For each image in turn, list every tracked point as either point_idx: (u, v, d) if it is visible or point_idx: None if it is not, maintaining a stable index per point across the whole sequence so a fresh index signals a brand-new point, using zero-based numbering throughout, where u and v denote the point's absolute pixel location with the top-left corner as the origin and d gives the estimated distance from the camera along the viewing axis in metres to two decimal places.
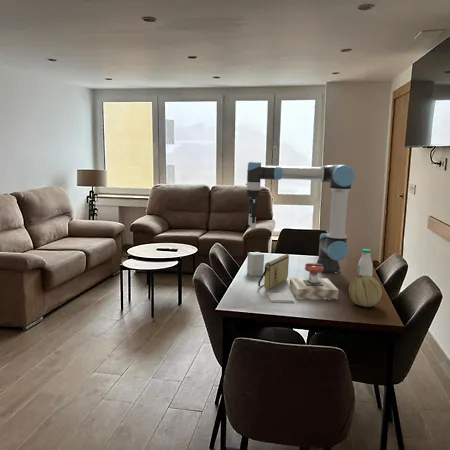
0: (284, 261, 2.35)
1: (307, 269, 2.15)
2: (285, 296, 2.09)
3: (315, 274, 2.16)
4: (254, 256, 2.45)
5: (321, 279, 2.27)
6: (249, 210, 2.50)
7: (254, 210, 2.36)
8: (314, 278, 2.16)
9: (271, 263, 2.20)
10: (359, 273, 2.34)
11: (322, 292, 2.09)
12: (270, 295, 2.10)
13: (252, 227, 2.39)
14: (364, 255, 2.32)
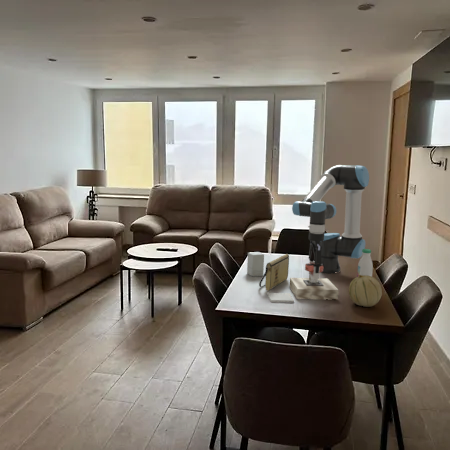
0: (285, 262, 2.35)
1: (307, 269, 2.15)
2: (285, 296, 2.09)
3: None
4: (254, 256, 2.45)
5: (321, 279, 2.27)
6: (310, 256, 2.21)
7: (319, 259, 2.09)
8: None
9: (272, 263, 2.20)
10: (359, 273, 2.34)
11: (322, 292, 2.09)
12: (270, 295, 2.10)
13: (315, 277, 2.13)
14: (364, 255, 2.32)
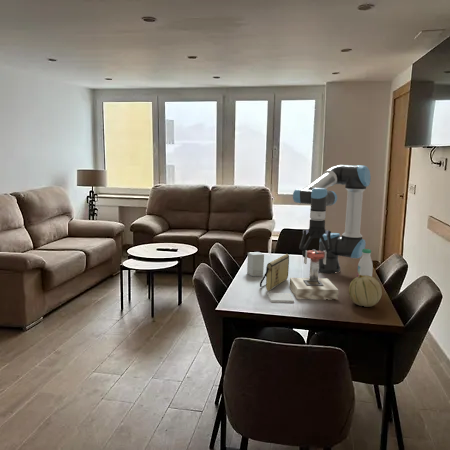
0: (285, 262, 2.35)
1: (321, 257, 2.13)
2: (285, 296, 2.09)
3: None
4: (254, 256, 2.45)
5: (321, 279, 2.27)
6: None
7: None
8: None
9: (273, 263, 2.20)
10: (359, 273, 2.34)
11: (322, 292, 2.09)
12: (270, 295, 2.10)
13: None
14: (364, 255, 2.32)
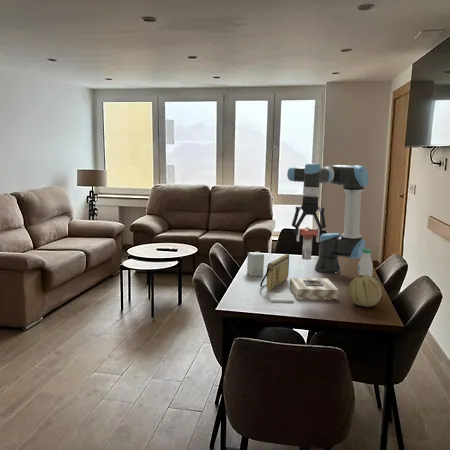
0: (285, 262, 2.35)
1: (314, 234, 2.08)
2: (285, 296, 2.09)
3: None
4: (254, 256, 2.45)
5: (321, 279, 2.27)
6: (300, 223, 2.09)
7: None
8: None
9: (273, 263, 2.20)
10: (359, 273, 2.34)
11: (322, 292, 2.09)
12: (270, 295, 2.10)
13: None
14: (364, 255, 2.32)
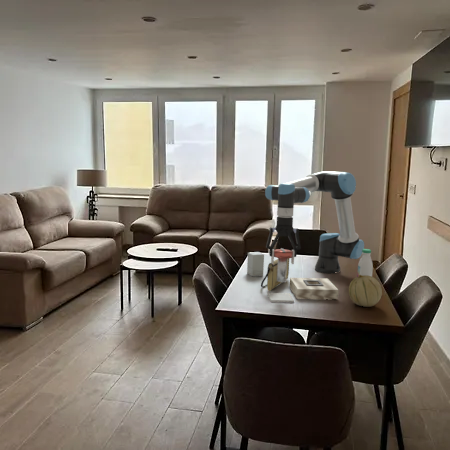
0: None
1: (288, 256, 2.02)
2: (285, 296, 2.09)
3: None
4: (254, 256, 2.45)
5: (321, 279, 2.27)
6: None
7: None
8: (286, 264, 2.06)
9: (274, 263, 2.20)
10: (359, 273, 2.34)
11: (322, 292, 2.09)
12: (270, 295, 2.10)
13: None
14: (364, 255, 2.32)
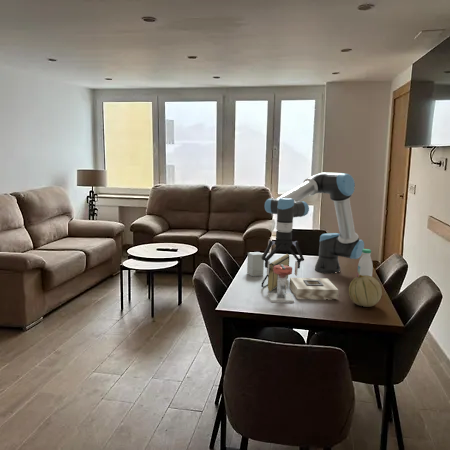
0: (285, 262, 2.35)
1: (288, 273, 2.03)
2: None
3: None
4: (254, 256, 2.45)
5: (321, 279, 2.27)
6: None
7: None
8: (286, 280, 2.07)
9: (274, 263, 2.20)
10: (359, 273, 2.34)
11: (322, 292, 2.09)
12: (270, 295, 2.10)
13: None
14: (364, 255, 2.32)
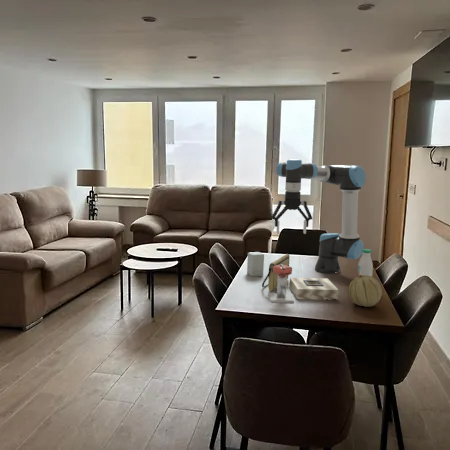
0: (286, 262, 2.35)
1: (288, 273, 2.03)
2: None
3: None
4: (254, 256, 2.45)
5: (321, 279, 2.27)
6: (280, 216, 2.14)
7: (309, 212, 2.16)
8: (286, 280, 2.07)
9: (275, 263, 2.20)
10: (359, 273, 2.34)
11: (322, 292, 2.09)
12: (270, 295, 2.10)
13: None
14: (364, 255, 2.32)
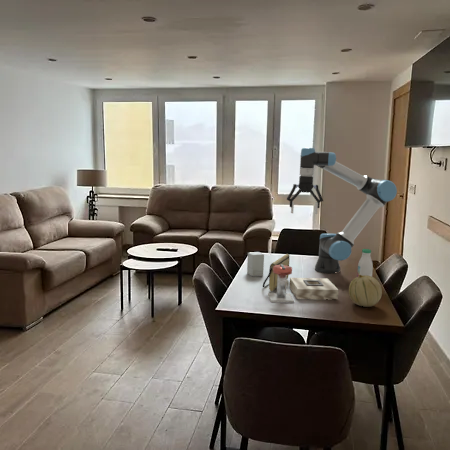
0: (286, 262, 2.35)
1: (288, 273, 2.03)
2: None
3: None
4: (254, 256, 2.45)
5: (321, 279, 2.27)
6: None
7: None
8: (286, 280, 2.07)
9: (276, 263, 2.20)
10: (359, 273, 2.34)
11: (322, 292, 2.09)
12: (270, 295, 2.10)
13: None
14: (364, 255, 2.32)
